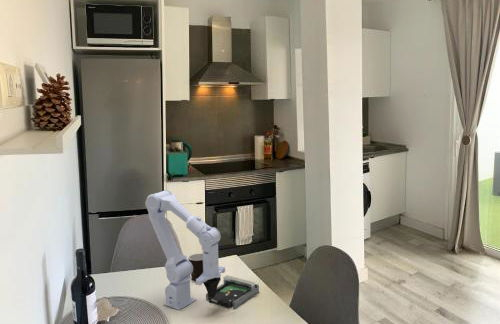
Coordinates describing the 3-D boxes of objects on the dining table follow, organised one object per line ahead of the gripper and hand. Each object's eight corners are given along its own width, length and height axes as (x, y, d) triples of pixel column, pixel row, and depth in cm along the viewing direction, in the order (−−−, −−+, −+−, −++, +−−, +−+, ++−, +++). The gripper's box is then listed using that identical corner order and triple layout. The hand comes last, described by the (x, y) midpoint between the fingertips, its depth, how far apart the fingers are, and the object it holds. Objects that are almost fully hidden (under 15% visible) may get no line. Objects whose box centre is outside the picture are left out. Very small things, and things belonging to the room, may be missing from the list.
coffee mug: (207, 282, 178) (206, 260, 177) (187, 282, 178) (186, 260, 177) (210, 272, 189) (209, 251, 188) (192, 272, 190) (191, 251, 188)
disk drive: (230, 310, 154) (251, 294, 166) (229, 303, 154) (251, 288, 166) (208, 303, 160) (230, 289, 172) (208, 296, 159) (230, 282, 172)
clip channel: (234, 308, 154) (234, 295, 153) (206, 299, 161) (205, 287, 161) (258, 292, 167) (258, 280, 166) (231, 284, 175) (231, 273, 174)
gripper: (206, 270, 143) (207, 307, 145) (231, 257, 155) (232, 291, 157) (191, 266, 147) (192, 302, 149) (216, 254, 159) (217, 287, 161)
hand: (211, 296), depth 153 cm, fingers closed
